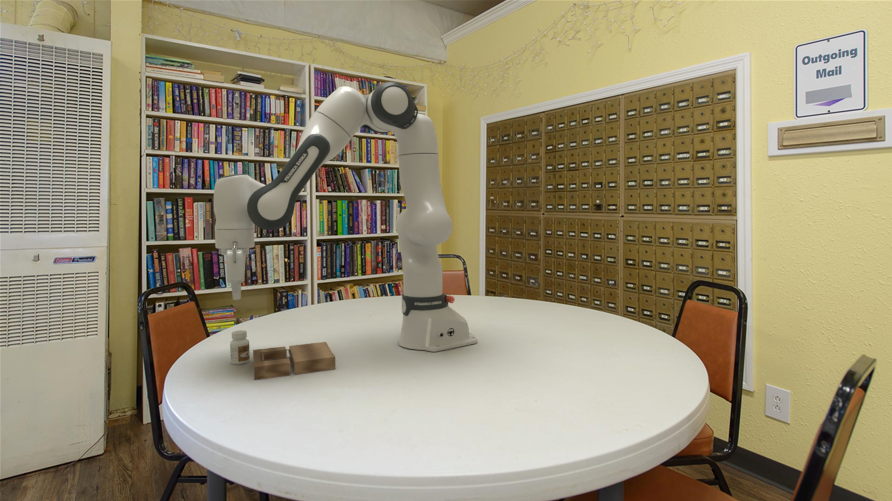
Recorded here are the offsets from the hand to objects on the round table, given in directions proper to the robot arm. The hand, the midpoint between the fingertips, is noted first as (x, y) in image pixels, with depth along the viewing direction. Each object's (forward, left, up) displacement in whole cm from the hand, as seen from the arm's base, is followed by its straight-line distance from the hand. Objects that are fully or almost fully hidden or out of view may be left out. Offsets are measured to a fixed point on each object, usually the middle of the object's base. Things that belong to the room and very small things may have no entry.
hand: (237, 296), depth 117 cm
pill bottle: (0, 0, -17) cm, 17 cm away
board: (-12, +8, -17) cm, 22 cm away
